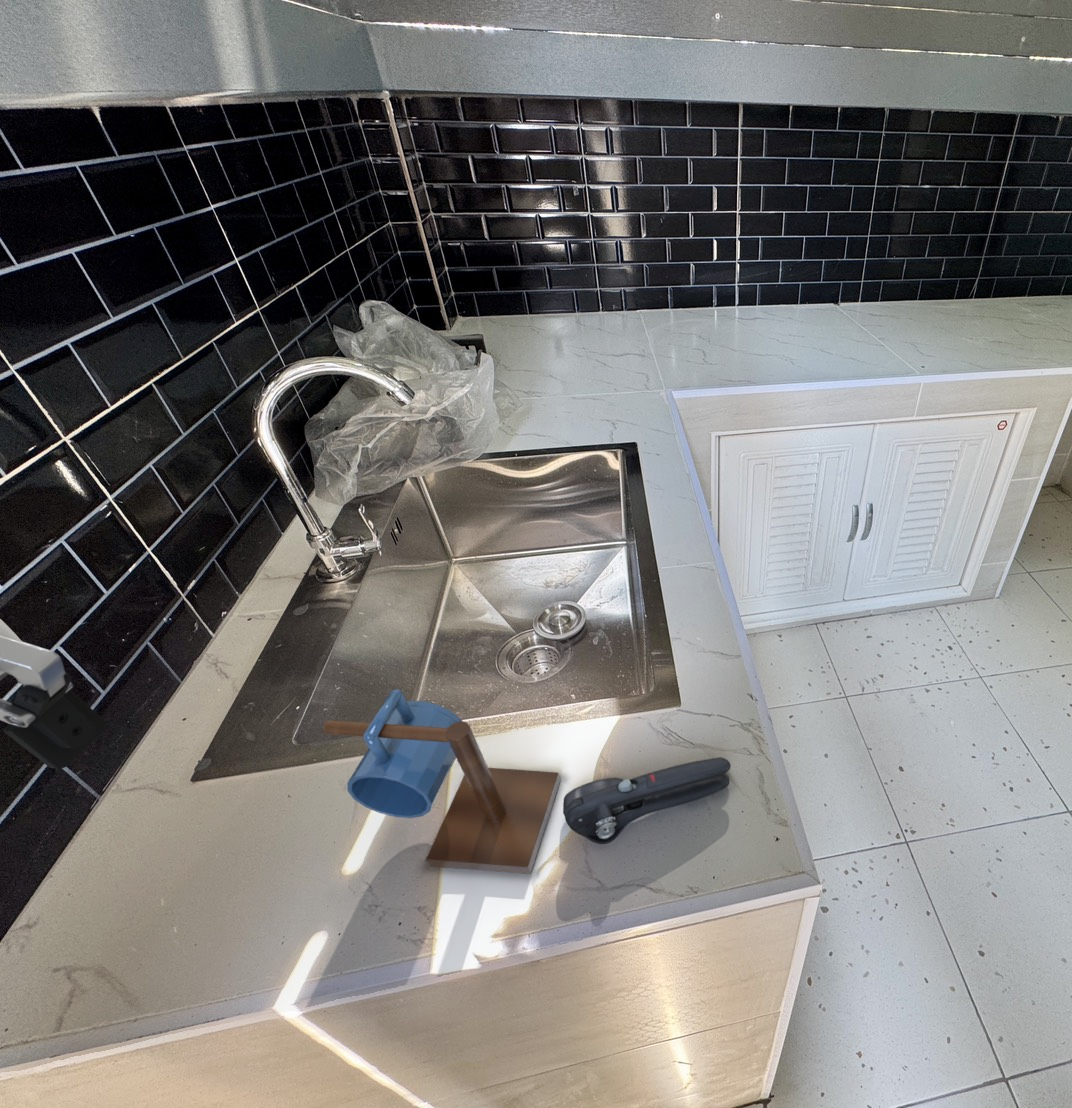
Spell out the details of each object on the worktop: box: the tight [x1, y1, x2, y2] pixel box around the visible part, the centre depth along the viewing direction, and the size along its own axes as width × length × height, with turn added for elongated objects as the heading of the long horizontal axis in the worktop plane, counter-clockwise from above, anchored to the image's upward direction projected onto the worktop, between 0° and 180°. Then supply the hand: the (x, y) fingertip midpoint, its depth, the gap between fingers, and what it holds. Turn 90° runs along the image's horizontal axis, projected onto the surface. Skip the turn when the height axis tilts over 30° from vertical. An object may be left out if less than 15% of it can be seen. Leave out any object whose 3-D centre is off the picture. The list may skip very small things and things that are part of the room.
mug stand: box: [322, 719, 561, 875], centre depth 58 cm, size 10×17×16 cm, turn 86°
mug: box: [346, 688, 463, 819], centre depth 57 cm, size 11×7×8 cm
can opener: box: [562, 757, 732, 845], centre depth 62 cm, size 18×7×6 cm, turn 108°
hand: (5, 741), depth 37 cm, fingers open, 9 cm apart
